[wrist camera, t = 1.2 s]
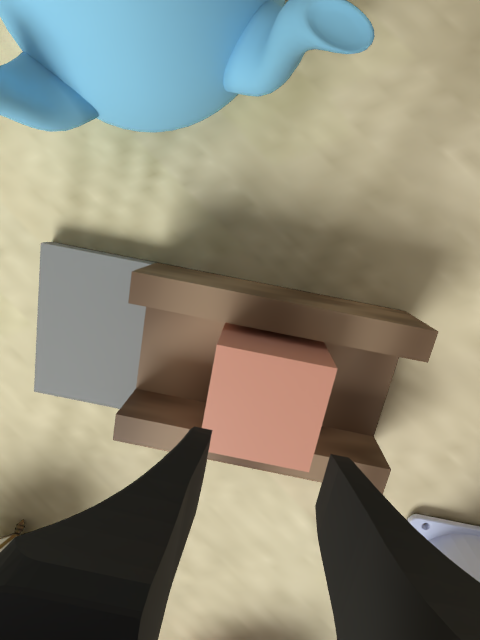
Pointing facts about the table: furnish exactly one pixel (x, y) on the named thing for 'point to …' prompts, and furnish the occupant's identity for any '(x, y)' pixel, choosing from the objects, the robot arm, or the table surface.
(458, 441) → the table surface
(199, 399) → the chute
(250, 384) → the block
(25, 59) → the teapot
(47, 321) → the shelf
